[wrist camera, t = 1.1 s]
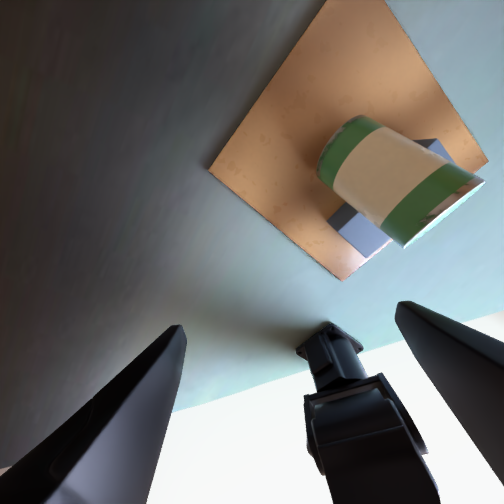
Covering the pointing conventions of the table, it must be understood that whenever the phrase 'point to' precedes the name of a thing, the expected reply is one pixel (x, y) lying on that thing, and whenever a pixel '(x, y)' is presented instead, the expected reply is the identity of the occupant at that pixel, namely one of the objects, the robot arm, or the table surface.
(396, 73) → the cork mat
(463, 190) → the green tin
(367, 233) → the blue blocks
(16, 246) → the table surface
